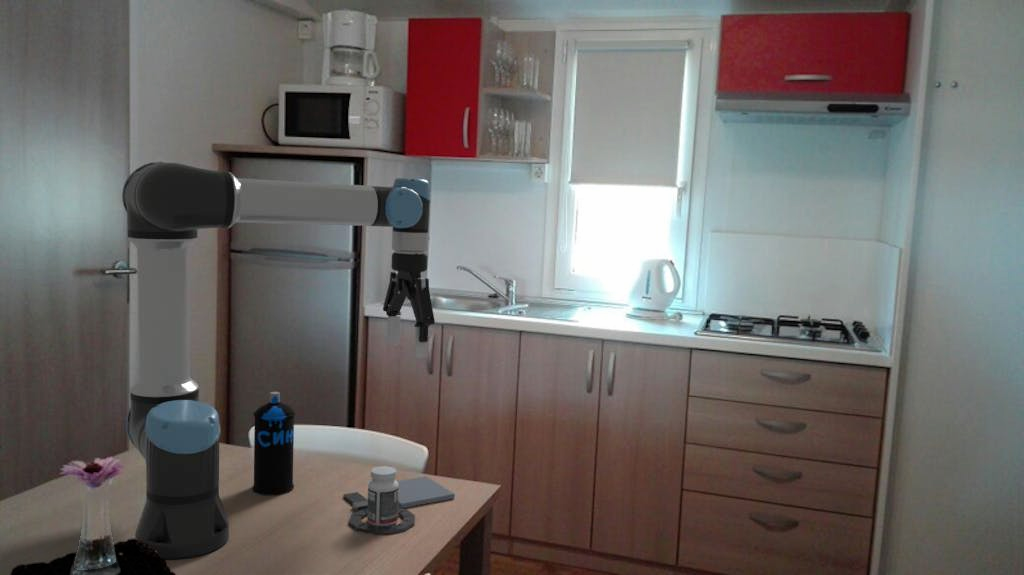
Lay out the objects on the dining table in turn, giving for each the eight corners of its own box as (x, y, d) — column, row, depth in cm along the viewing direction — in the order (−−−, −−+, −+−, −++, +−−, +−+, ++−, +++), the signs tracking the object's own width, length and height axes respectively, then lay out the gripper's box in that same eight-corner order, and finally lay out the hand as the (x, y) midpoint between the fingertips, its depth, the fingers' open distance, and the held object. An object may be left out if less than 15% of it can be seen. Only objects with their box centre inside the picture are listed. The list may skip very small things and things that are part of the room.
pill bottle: (401, 517, 162) (402, 466, 161) (393, 528, 157) (395, 476, 156) (371, 514, 163) (373, 464, 162) (363, 526, 157) (364, 473, 156)
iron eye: (366, 538, 152) (366, 533, 151) (322, 501, 168) (322, 496, 168) (426, 526, 158) (426, 521, 158) (377, 491, 175) (377, 486, 175)
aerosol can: (250, 483, 176) (251, 389, 174) (290, 479, 180) (292, 387, 177) (254, 497, 169) (256, 398, 167) (297, 493, 172) (298, 396, 170)
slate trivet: (401, 508, 166) (401, 503, 166) (375, 489, 176) (375, 484, 176) (454, 498, 173) (454, 493, 173) (426, 480, 183) (426, 476, 183)
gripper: (453, 257, 171) (449, 361, 174) (401, 247, 192) (397, 340, 194) (420, 257, 167) (416, 363, 170) (369, 247, 188) (367, 341, 190)
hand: (406, 351), depth 182 cm, fingers open, 13 cm apart
